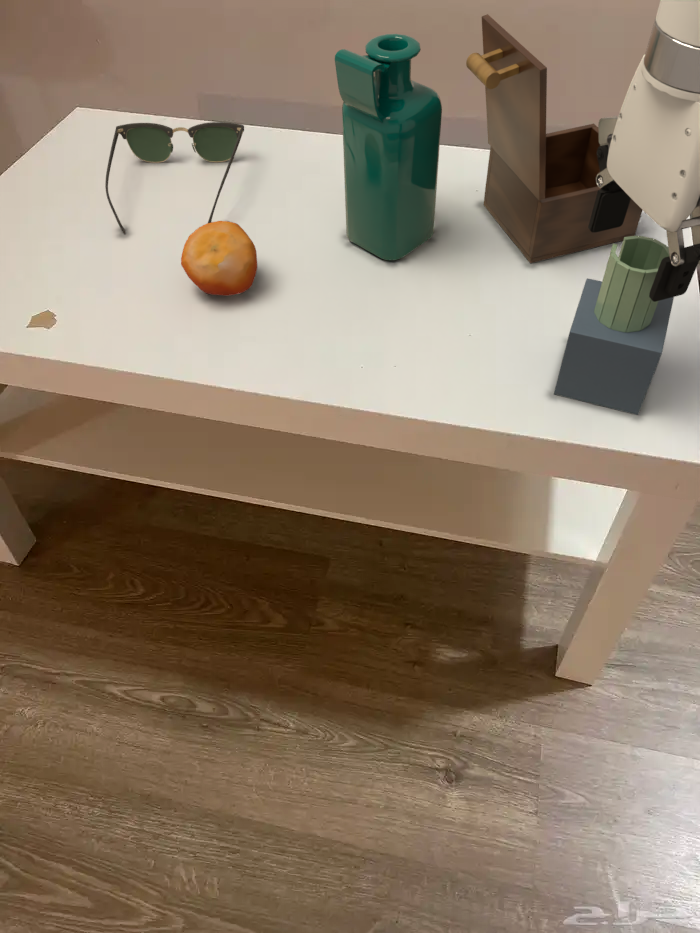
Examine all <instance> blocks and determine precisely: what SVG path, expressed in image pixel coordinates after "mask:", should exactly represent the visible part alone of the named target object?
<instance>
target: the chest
mask: <svg viewBox="0 0 700 933" xmlns="http://www.w3.org/2000/svg"><path fill="white" fill-rule="evenodd" d="M489 146H490V145H489ZM599 146H600V143H599V129H598V125H596V124H595V123H590V124H584V125H580V126H576V127H572V128H566V129H562V130H557V131H552V132H546V173H545V199H543V200H540V201H539V200H538V199H537V198H536V197H535V196H534V194H533V193H532V192H531V191H530V190H529V189H528V188H527V186H526V185H525V184H524V183H523V182H522V181H521V180H520V179H519V177H518V176H517V175H516V174H515V173H514V172H513V171H512V170H511V168H510V167H509V166H508V165H507V164H506V163H505V162H504V161H503V159H502V158H501V157H500V156H499V155H498V154H497V153H496V151H495V150H494V149H493V148H492V147H491V146H490V148H489V155H488V163H487V172H486V179H485V187H484V196H483V206H484V208H485V209H486V210H487V211H488V213H489V214H490V215H491V216H492V217H493V219H494V220H495V221H496V222H497V224H498V225H499V226H500V228H501V229H502V230H503V231H504V232H505V234H506V235H507V236H508V238H509V239H510V240H511V241H512V242H513V244H514V245H515V246H516V248H517V249H518V250H519V251H520V253H521V254H522V255H523V256H524V258H525V259H526V260H527V262H529V264H534V263H538V262H541V261H546V260H549V259H553V258H554V259H555V258H557V257H562V256H565V255H570V254H573V253H578V252H582V251H586V250H590V249H595V248H599V247H603V246H607V245H610V244H616V243H618V242H623V239H624V237H629V236H636V233H637V230H638V227H639V223H640V220H641V217H642V213H643V210H642V209H641V208H640V207H639V206H638V205H637V204H636V203H635V202H634V201H633V200H632V199H631V200H630V203H629V206H628V209H627V212H626V216H625V219H624V222H623V225H622V226H620V227H617V228H613V229H608V230H604V231H600V232H596V233H595V232H591V231H590V230H589V229H588V225H589V222H590V218H591V214H592V210H593V207H594V203H595V199H596V196H597V192H598V190H600V189H601V188H599V187H598V186H597V184H596V176H597V174H598V173H600V169H599V163H598V158H597V149H598V147H599Z"/></svg>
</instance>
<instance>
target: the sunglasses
mask: <svg viewBox="0 0 700 933" xmlns="http://www.w3.org/2000/svg"><path fill="white" fill-rule="evenodd" d="M177 132H185V133H187V134H188V136H189V137H190V138H192V143H191V147H192V149H193V152H194V153H197V154H198V155H199V157H201V158H202V160H204V161H206V162H210V163H224V162H227V161H228V164H227V167H226V169H225V172H224V175H223V177H222V180H221V183H220V185H219V188H218V191H217V194H216V196H215V200H214V203H213V206H212V209H211V211H210V215H209V218H208V221H207V223H211V222H213V221H212V220H213V217H214V213H215V210H216V206H217V203H218V200H219V198H220V195H221V192H222V190H223V187H224V185H225V182H226V179H227V177H228V174H229V171H230V169H231V167H232V165H233V164H232V163H233V161H234V158H235V156H236V153H237V150H238V147H239V145H240V143H241V140H242V136H243V134H244V132H245V125H244V124H240V123H235V122H225V121H211V122H204V123H199V124H195V125H193V126H191V127H189V128H186V127H182V126H179V127H178V126H177V127H175V128H172V127H170V126H168V125H164V124H161V123H155V122H131V123H125V124H120V125H116V126H115V130H114V135H113V138H112V143H111V147H110V152H109V157H108V161H107V167H106V174H105V184H104V185H105V188H104V189H105V195H106V197H107V198H106V199H107V202H108V204H109V207H110V209H111V211H112V214H113V215H114V217H115V220H116V222H117V224H118V226H119V228H120V230H121V233H122V234H125V233H126V230H125V228H124V226H123V224H122V222H121V220H120V219H119V216H118V214H117V212H116V210H115V207H114V205H113V203H112V200H111V197H110V194H109V180H110V174H111V173H110V172H111V166H112V162H113V158H114V156H115V155H114V154H115V150H116V145H117V141H118V138H119V135H120V136H121V137H122V139H123V140H126V142H127V145H128V146H129V149H130V151H131V153H132V154H133V155H134V156H135V157H136V158H137V159H139V160H140V161H144V162H147V163H152V164H155V163H164V162H167V160H168V159H169V158H170V156H171V155H172V153H173V152H174V144H173V142H172V138H173V137H174V134H175V133H177Z"/></svg>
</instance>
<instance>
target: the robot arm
mask: <svg viewBox="0 0 700 933" xmlns="http://www.w3.org/2000/svg"><path fill="white" fill-rule="evenodd" d="M597 127H598V129H599V143H600V146H599V147H598V149H597V158H598V163H599V169H600V173H598V174H597V176H596V184H597V186H598V187H599V188H601V189H600V190H598V192H597V196H596V199H595V203H594V207H593V210H592V214H591V218H590V222H589V225H588V229H589V230H590V231H591V232H595V233H596V232H600V231H604V230H608V229H613V228H617V227H620V226H622V225H623V222H624V219H625V216H626V212H627V209H628V206H629V203H630V200H631V199H632V200H633V201H634V202H635V203H636V204H637V205H638V206H639V207H640V208H641V209H642V212H644V213H645V214H646V215H647V216H648V217H649V218H650V219H651V220H652V221H653V222H655V223H656V225H658V226H659V227H660V228H662V229H663V230H665V231H666V240H667V246H668V248H669V256H668V257H665V258H663V259H662V261H661V263H660V266H659V268H658V271H657V274H656V277H655V279H654V282H653V285H652V287H651V290H650V293H649V297H650V298H651V300H652V301H653V302H656V301H660V300H664V299H668V298H671V297H674V298H675V297H679V296H682V295H685V293H686V292H688V288H689V286H690V284H691V282H692V279H693V277H694V275H695V272H696V270H697V267H698V265H699V262H700V0H659V4H658V8H657V11H656V15H655V18H654V21H653V25H652V28H651V33H650V36H649V39H648V42H647V47H646V51H645V53H644V54H643V56H642V57H641V60H640V62H639V64H638V66H637V68H636V69H635V72H634V75H633V77H632V79H631V82H630V84H629V86H628V88H627V92H626V94H625V96H624V100H623V102H622V105H621V107H620V110H619V113H618V115H611V116H605V117H602V118H600V119H599V120H598V125H597ZM690 215H691V217H690ZM689 217H690V218H689ZM690 228H691V235H692V245H689V246H685V240H684V239H685V238H684V231H683V230H685V229H690Z"/></svg>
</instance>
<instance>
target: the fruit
mask: <svg viewBox="0 0 700 933" xmlns="http://www.w3.org/2000/svg"><path fill="white" fill-rule="evenodd" d="M180 265H181V267H182V268H183V271H184V272H185V274H186V275H187V278H188V279H189V280H190V281H191V282H192V283H193V284H194V285H195V286H197V287H198V289H199V290H200V291H202V292H203V293H205V294H207V295H212V296H226V297H227V296H234V295H235V296H236V295H239V294H244V293H245V292H247V291H248V290H249V289H250V288H252V286H253V284H254V281H255V278H256V275H257V272H258V271H257V270H258V255H257V249H256V246H255V244H254V242H253V240H252V239H251V238H250V236H249V235H248V234H247V232H246V231H245V230H244V229H243V228H242V227H241V225H240V224H238V223H237V222H234V221H227V220H217V221H211V223H208V222H207V223H205V224H202V225H201V226H199V227H197V228H196V229H195V230H194V231H193V232H192V233H190V234H189V235H188V236H187V239H186V240H185V243H184V246H183V248H182V253H181V258H180Z"/></svg>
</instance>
